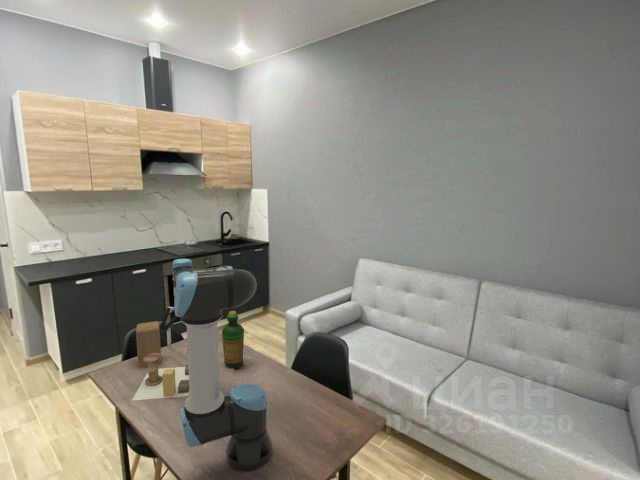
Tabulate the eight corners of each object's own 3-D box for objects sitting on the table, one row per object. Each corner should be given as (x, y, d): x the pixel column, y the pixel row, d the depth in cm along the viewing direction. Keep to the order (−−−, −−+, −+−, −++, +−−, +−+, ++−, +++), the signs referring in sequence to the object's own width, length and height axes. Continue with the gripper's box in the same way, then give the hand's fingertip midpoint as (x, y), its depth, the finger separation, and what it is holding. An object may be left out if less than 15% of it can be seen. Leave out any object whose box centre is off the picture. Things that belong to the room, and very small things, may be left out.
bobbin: (160, 385, 153) (158, 360, 151) (143, 386, 152) (141, 361, 150) (164, 376, 160) (162, 352, 158) (148, 377, 158) (146, 353, 156)
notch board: (188, 392, 148) (187, 385, 148) (178, 393, 148) (177, 386, 147) (195, 368, 167) (195, 363, 166) (187, 369, 166) (186, 363, 166)
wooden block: (139, 360, 175) (136, 323, 172) (161, 356, 180) (158, 320, 176) (138, 370, 167) (135, 331, 163) (161, 366, 171) (159, 327, 167)
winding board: (188, 398, 146) (188, 395, 146) (131, 403, 142) (131, 400, 142) (197, 368, 169) (197, 366, 169) (149, 371, 166) (149, 369, 165)
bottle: (218, 369, 169) (216, 314, 164) (230, 358, 179) (228, 307, 174) (237, 373, 166) (236, 317, 161) (248, 362, 176) (247, 309, 171)
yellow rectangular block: (173, 395, 146) (172, 373, 144) (163, 396, 145) (162, 374, 144) (175, 390, 150) (174, 368, 148) (166, 390, 149) (164, 369, 147)
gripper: (215, 292, 151) (217, 337, 155) (155, 293, 148) (158, 340, 151) (213, 298, 144) (214, 345, 147) (149, 299, 140) (152, 348, 144)
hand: (186, 343), depth 149 cm, fingers open, 13 cm apart
